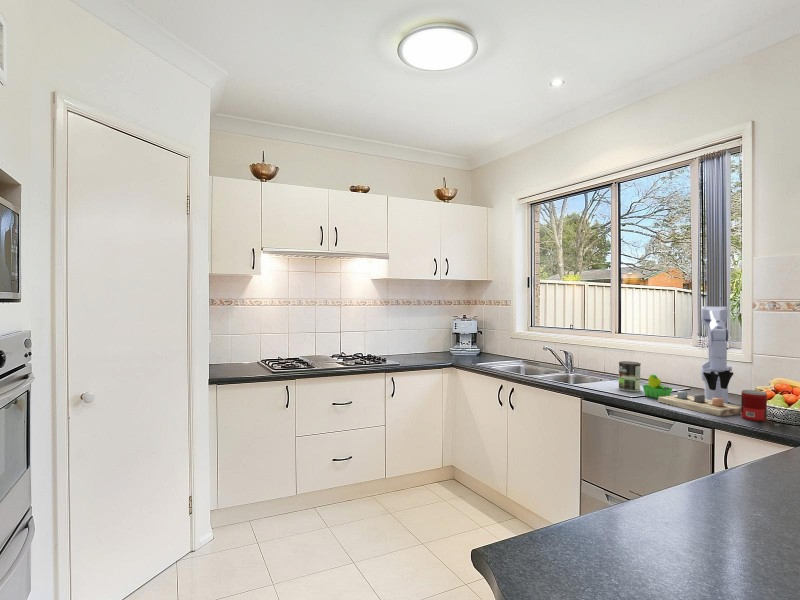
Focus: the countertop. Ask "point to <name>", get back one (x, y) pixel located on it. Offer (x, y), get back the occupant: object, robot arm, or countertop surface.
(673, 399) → the panel
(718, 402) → the button terracotta
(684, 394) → the button slate
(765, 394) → the canned food
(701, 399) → the button charcoal
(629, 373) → the coffee can
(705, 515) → the countertop surface
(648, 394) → the fruit basket
